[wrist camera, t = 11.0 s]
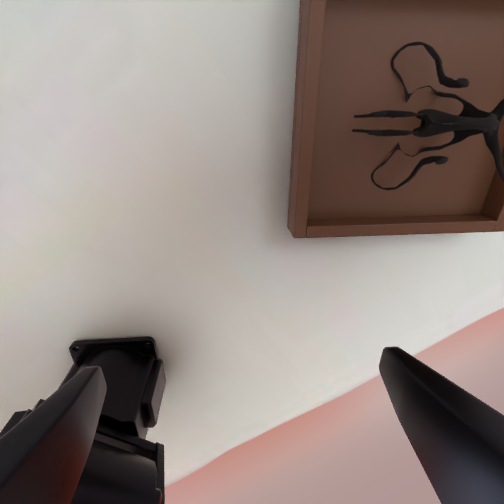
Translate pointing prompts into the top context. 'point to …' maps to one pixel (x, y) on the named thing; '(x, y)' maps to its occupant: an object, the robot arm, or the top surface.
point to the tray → (393, 98)
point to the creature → (443, 121)
